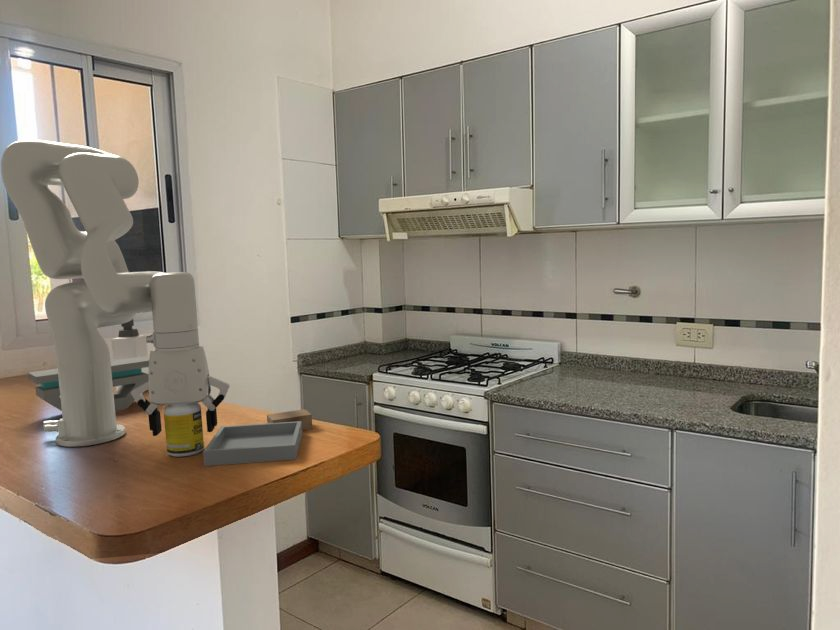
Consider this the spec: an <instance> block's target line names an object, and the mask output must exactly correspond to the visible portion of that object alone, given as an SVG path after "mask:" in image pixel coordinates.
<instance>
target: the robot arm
mask: <svg viewBox="0 0 840 630" xmlns="http://www.w3.org/2000/svg"><path fill="white" fill-rule="evenodd" d="M0 174H1V179H2V183H3V185H4V188H5V190H6V192H7V195H8V197H9V198H10V200H11V202H12V203H13V205H14V206H15V208H16V211H18V213H19V215H20V218H21V220H22V222H23V224H24V228H25V231H26V234H27V237H28V239H29V242H30V243H29V244H30V245H31V248H32V251H33V253H34V256H35V259H36V261H37V264H38V267H39V269H40V270H41V273H43V275H44V276H46V277H48V278H50V279H55V280H73V279H74V280H75V279H76V280H77V279H83V280H84V281H76V282H67V283H63V284H60V285H57V286H56V287H54V288H52V289H51V290H50V291H49V292H48V293H47V295H46V298H45V301H44V307H45V308H44V309H45V313H46V318H47V321H48V323H49V326H50V329H51V333H52V334H51V335H52V338H53V344H54V350H55V359H56V365H57V367H56V369H57V368H58V378H59V387H60V398H61V407H62V411H61V415H62V418H60V419H59V420H55V419H53V420H52V419H51V420H49V419H48V420H44V421H43V423H42V428H43V432H44V433H45V432H46V433H49V432H56V433H58V434H57V435H56V437H55V443H56V445H58V446H61V447H69V448H71V447H73V448H78V447H88V446H94V445H99V444H103V443H108V442H111V441H114V440H117V439H119V438H121V437H122V436H124V435H125V434H126V427H125V426H124V425H123V424H117V416H116V411H115V404H114V393H115V392H114V387H113V383H112V372H111V361H112V360H111V353H110V349H109V345H108V343H107V341H106V340H105V339H104V337H103V336H102V335H101V333H100V332H99V331H98V329H99V328H104V327H111V326H113V327H114V326H118V325H121V324H123V323H127V322H129V321H131V320H132V319H133V320H134V317H136V315H137V314H141V313H152V326H153V332H152V334H150V335H146V342H147V344H149V343H150V344H153V347H154V348H152V349H151V350H150V352H149V356H148V357H149V358H148V359H149V381H148V382H146V383H144V384H143V385H141V386H139V387H137V388H136V389H134V390H132V391H131V395H132V396H133V398H134V399H135V400H134V401H135V402H136V404H137V406H138V407H139V408H140V409H142V410H143V411H144V412H145V414H146V415H148V424H149V425H148V426H149V431H152V436H153V437H155V436H156V437H157V436H158V435H159V434H160V433H161V432H162V419H161V417H162V416H161V411H160V410H158V408H159V407H160V406H167V405H171V404H187V403H202V404H203V405H204V406H205V408H207V410H206V412H205V420H206V430H207V432H208V433H212V432H213V431H214V430H215V428H216V427H217V426H218V415H217V408H218V407H219V405H220V404H221V403H222V402H223V401H224V400H225V399H226V397H227V394H228V392H229V389H230V387H231V385H230V384H229V383H227V382H226V381H223V380H220V379H218V378H216V377H213V376H211V375H210V370H209V365H208V364H209V363H208V360H207V355H206V352H205V348H204V345H202V344H200V340H199V339H200V338H199V337H200V336H199V329H198V328H199V326H198V312H197V311H198V310H197V300H196V288H195V287H196V286H195V284H196V283H195V279H194V276H193V275H192V274H191V273H189V272H185V271H178V272H177V271H176V272H175V271H172V272H169V271H168V272H164V271H153V270H151V271H150V270H147V271H132V272H131V271H129V269H128V267H127V266H128V265H127V263H126V260H125V257H124V255H123V253H122V250H121V249H120V246H119V244H118V243H117V239H119V238H121V237H122V236H125V234H127V233H128V232H129V231H130V229H132V227H133V225H134V217H133V216H132V213H131V212H130V210H129V208H128V206H127V204H126V202H125V200H127V199H129V198H130V199H131V197H133V196H134V195H136V193H137V191H138V188H139V175H138V173H137V170H136V169H135V167H134V165H133V164H132V163H131V162H130V161H129V160H128V159H126V158H124V156H123V157H122V156H119V155H116V154H112V153H109V152H106V151H103V150H100V149H97V148H94V147H90V146H86V145H85V146H84V145H79V144H72V143H71V144H70V143H64V142H57V141H50V140H42V139H24V140H23V139H22V140H21V139H20V140H17V141H13V142H12V143H10V144H8V146H7V147H6V148H5V149H4V151H3V153H2V156H1V162H0ZM48 186H63V188H64V190H65V192H66V194H67V196H68V198H69V200H70V203H71V204H72V206H73V207H74V210H75V212H76V214H77V216H78V219H79V220H80V222H81V224H82V226H83V228H84V230H85V231H81V230H79V229H78V228H77V227H76V224H75V222H74V220H73V218H72V215H71V212H70V209H69V208H68V207H67V205H66V204H65V203H64V201H63V200H62V199H61V198H60V197H59V196H58V195H57V194H56V193H55V192H53V191H52V190H51V189H50V188H49V187H48ZM212 387H214V388H216V389H218V390H219V393H218V395H217V396H216V398H214V397H213V396H212V395H211V392H212ZM147 390H148V398H149V400H147V398H145V396H144V395H143V394H144V392H146V391H147Z"/></svg>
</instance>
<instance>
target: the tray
mask: <svg viewBox="0 0 840 630" xmlns="http://www.w3.org/2000/svg"><path fill="white" fill-rule="evenodd" d="M302 437H303V430H302V421H296V422H280V423H251V424H235V425H223V426H222V425H221V426H220V427H219V429H218V430H217V431H216V433H215V434H214V436H213V437H212V438H211V440H210V441H209V443H208V444H207V445H206V446H205V449H204V448H203V450H202V454H203V466H204V467H209V466H210V467H211V466H225V465H237V464H251V463H253V464H254V463H263V462H264V463H265V462H266V463H267V462H280V461H292V460H295V461H296V460H297V456H298V452H299V448H300V445H301V441H302Z"/></svg>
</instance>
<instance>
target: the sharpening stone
mask: <svg viewBox="0 0 840 630" xmlns="http://www.w3.org/2000/svg"><path fill="white" fill-rule="evenodd" d="M110 361H111V372H112V383H113V388H114V387H115V388H116V386H120V388H119V389H118V390H117V391H116V390H115V392H113V393H114V404H115V412H118V411H122V410H123V411H124V410H127V409H128V408H129V407H130V406H131V404H133V403H134V401H135V399H134V398H133V396H132V395H131V391H132V390H134V389H136V388H137V387H139V386H141V385H143V384H144V383H146V382H148V381H149V376H148V374H146V373H143V372H142V369H141V368H145V367H149V358H148V359H146V358H143V357H136V358H129V359H122V360H114V361H113V360H110ZM27 375H28V380H29V381H31V382H33V383H35V384H36V385H35V386H34V389H35V396H37V397H38V398H40V399H41V400H42V401H44V402H46V403H48V404H49V405H51V406H52V407H54V408H56V409H57V410H59V411H60V412H62V407H61V397H60V387H59V378H58V368H57V367H56V368H51V369H47V370H46V369H45V370H37V371H29V372H27Z"/></svg>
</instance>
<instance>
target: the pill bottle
mask: <svg viewBox="0 0 840 630" xmlns="http://www.w3.org/2000/svg"><path fill="white" fill-rule="evenodd" d="M163 418H164V433H165V442H166V452H167V454H168V455H169V456H171V457H176V458H177V457H178V458H179V457H181V458H182V457H189V456H193V455H194V456H195V455H197V454H199V453H201V452H203V451H204V447H205V443H204V442H205V440H204V431H203V419H202V406H201V404H200V402H198V403H187V404H171V405H165V408H164V409H163Z"/></svg>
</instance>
